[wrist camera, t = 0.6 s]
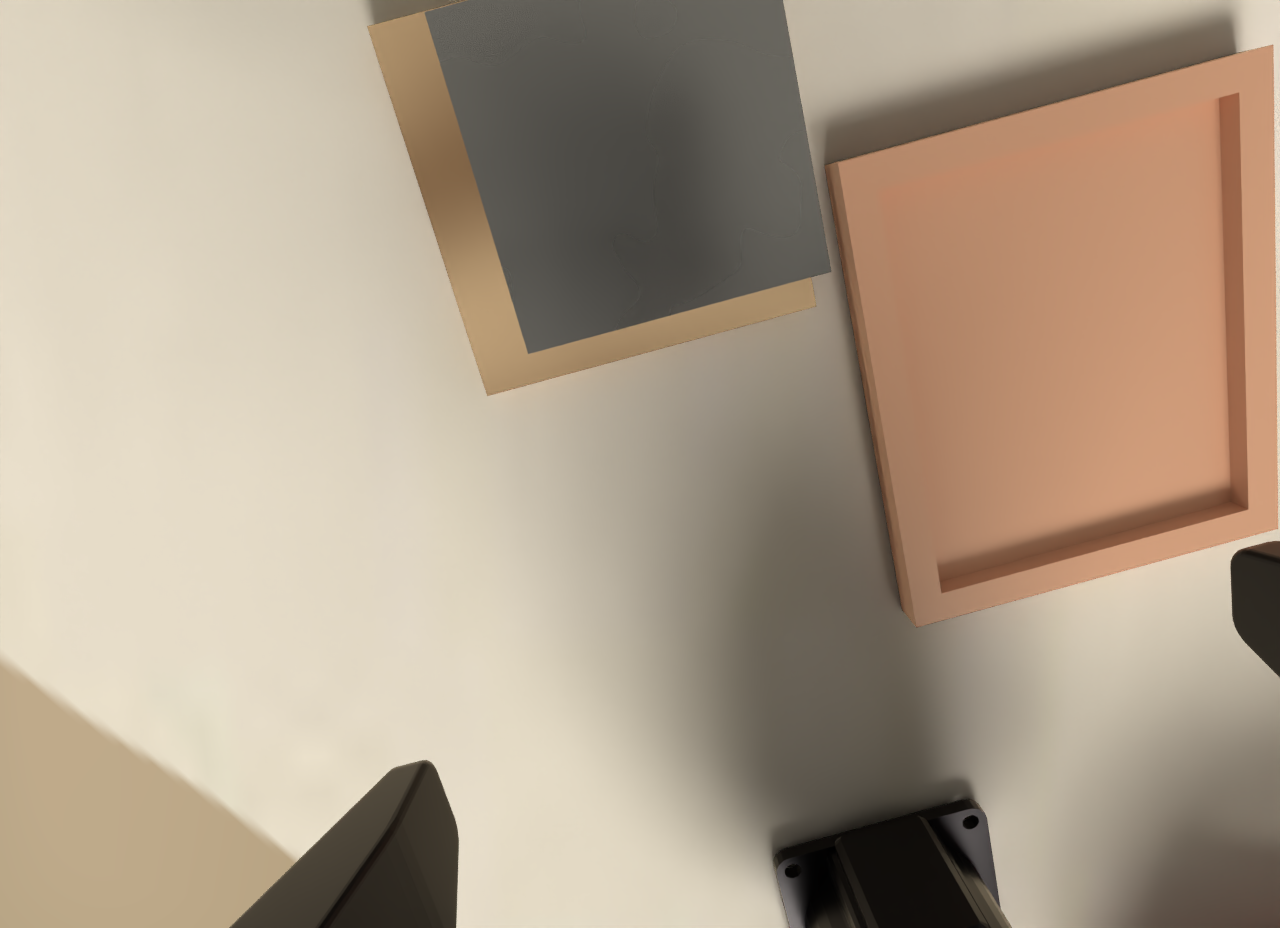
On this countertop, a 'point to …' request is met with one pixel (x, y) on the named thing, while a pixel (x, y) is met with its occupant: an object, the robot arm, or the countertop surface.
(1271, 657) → the robot arm
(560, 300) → the strut
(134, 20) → the countertop surface
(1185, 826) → the countertop surface
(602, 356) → the stud base
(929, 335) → the tray
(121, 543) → the countertop surface
